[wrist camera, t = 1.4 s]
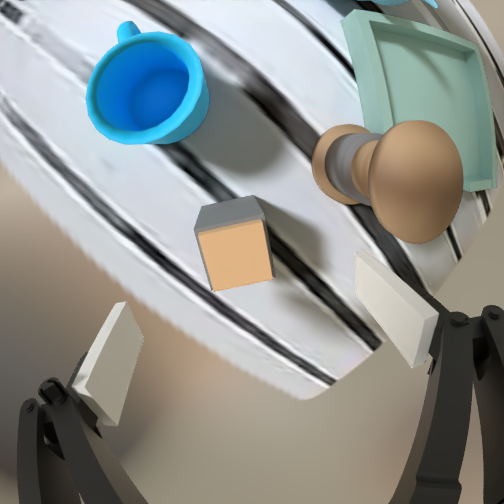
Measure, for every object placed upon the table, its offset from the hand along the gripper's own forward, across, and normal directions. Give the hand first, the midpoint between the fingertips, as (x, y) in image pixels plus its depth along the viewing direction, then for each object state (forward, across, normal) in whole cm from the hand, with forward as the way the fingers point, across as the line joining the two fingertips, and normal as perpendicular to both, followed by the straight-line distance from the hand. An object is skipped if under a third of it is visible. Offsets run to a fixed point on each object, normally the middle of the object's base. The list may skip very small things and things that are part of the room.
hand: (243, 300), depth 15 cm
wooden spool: (+13, +12, +4) cm, 18 cm away
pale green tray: (+13, +25, +10) cm, 30 cm away
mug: (+13, -4, +16) cm, 21 cm away
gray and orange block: (+13, 0, 0) cm, 13 cm away
